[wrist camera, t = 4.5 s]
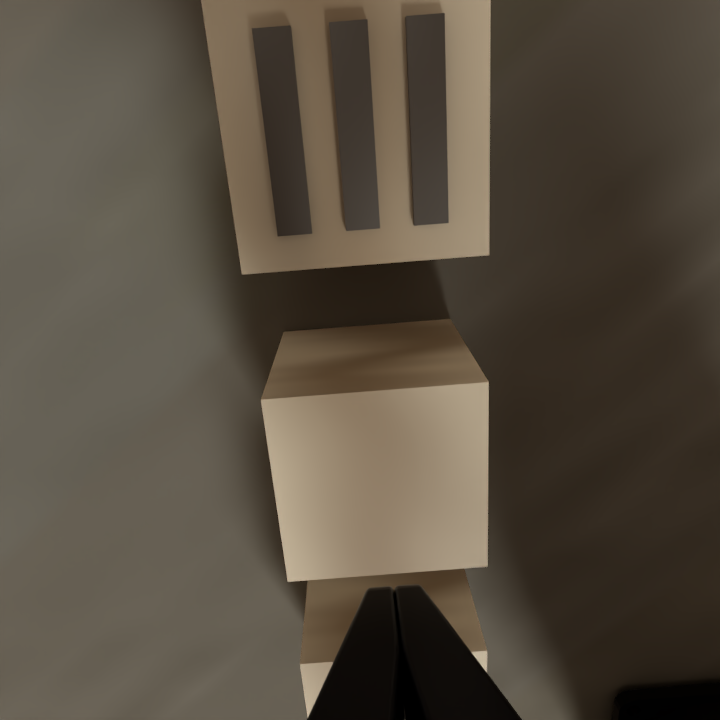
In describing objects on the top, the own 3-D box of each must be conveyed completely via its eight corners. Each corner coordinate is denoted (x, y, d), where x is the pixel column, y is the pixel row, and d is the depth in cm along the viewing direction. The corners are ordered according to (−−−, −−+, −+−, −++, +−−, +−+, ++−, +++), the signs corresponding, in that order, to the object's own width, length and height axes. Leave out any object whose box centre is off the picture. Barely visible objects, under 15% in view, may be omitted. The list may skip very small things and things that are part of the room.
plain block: (449, 317, 15) (488, 381, 11) (452, 462, 17) (487, 566, 13) (283, 330, 15) (260, 399, 11) (302, 474, 17) (287, 581, 13)
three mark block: (443, 22, 13) (493, -41, 9) (447, 224, 15) (491, 256, 10) (246, 38, 13) (195, -17, 9) (271, 237, 15) (240, 276, 10)
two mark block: (454, 532, 18) (488, 656, 14) (455, 641, 19) (487, 784, 15) (311, 542, 18) (299, 670, 14) (324, 651, 19) (317, 796, 15)
